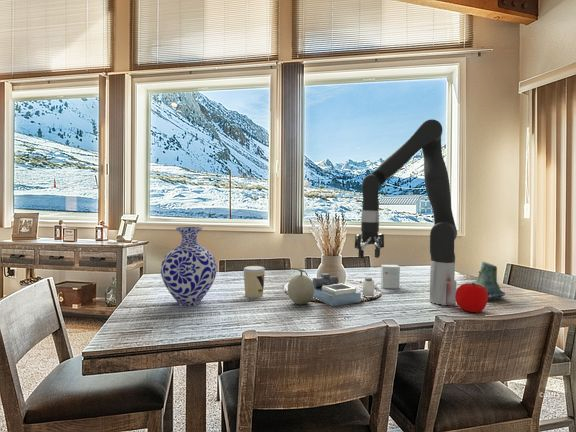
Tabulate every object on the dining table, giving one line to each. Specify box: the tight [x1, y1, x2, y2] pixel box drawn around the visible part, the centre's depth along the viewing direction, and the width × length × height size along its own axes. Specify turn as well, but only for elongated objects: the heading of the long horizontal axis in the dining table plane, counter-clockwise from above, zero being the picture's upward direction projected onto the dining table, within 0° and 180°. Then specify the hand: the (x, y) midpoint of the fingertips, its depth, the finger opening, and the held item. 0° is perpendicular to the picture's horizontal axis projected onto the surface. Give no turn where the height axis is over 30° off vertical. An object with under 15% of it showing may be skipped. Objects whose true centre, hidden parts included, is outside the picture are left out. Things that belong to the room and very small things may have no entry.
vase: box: [160, 226, 218, 307], centre depth 151 cm, size 22×22×30 cm
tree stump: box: [473, 261, 506, 301], centre depth 167 cm, size 18×20×18 cm
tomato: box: [455, 282, 488, 313], centre depth 145 cm, size 12×12×11 cm
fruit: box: [285, 266, 314, 305], centre depth 152 cm, size 10×12×15 cm
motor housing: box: [311, 272, 362, 307], centre depth 160 cm, size 18×14×9 cm
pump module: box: [362, 277, 375, 297], centre depth 165 cm, size 5×5×8 cm
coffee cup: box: [243, 265, 266, 298], centre depth 164 cm, size 9×9×12 cm
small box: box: [380, 264, 401, 290], centre depth 182 cm, size 8×6×10 cm
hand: (369, 258), depth 165 cm, fingers open, 8 cm apart
